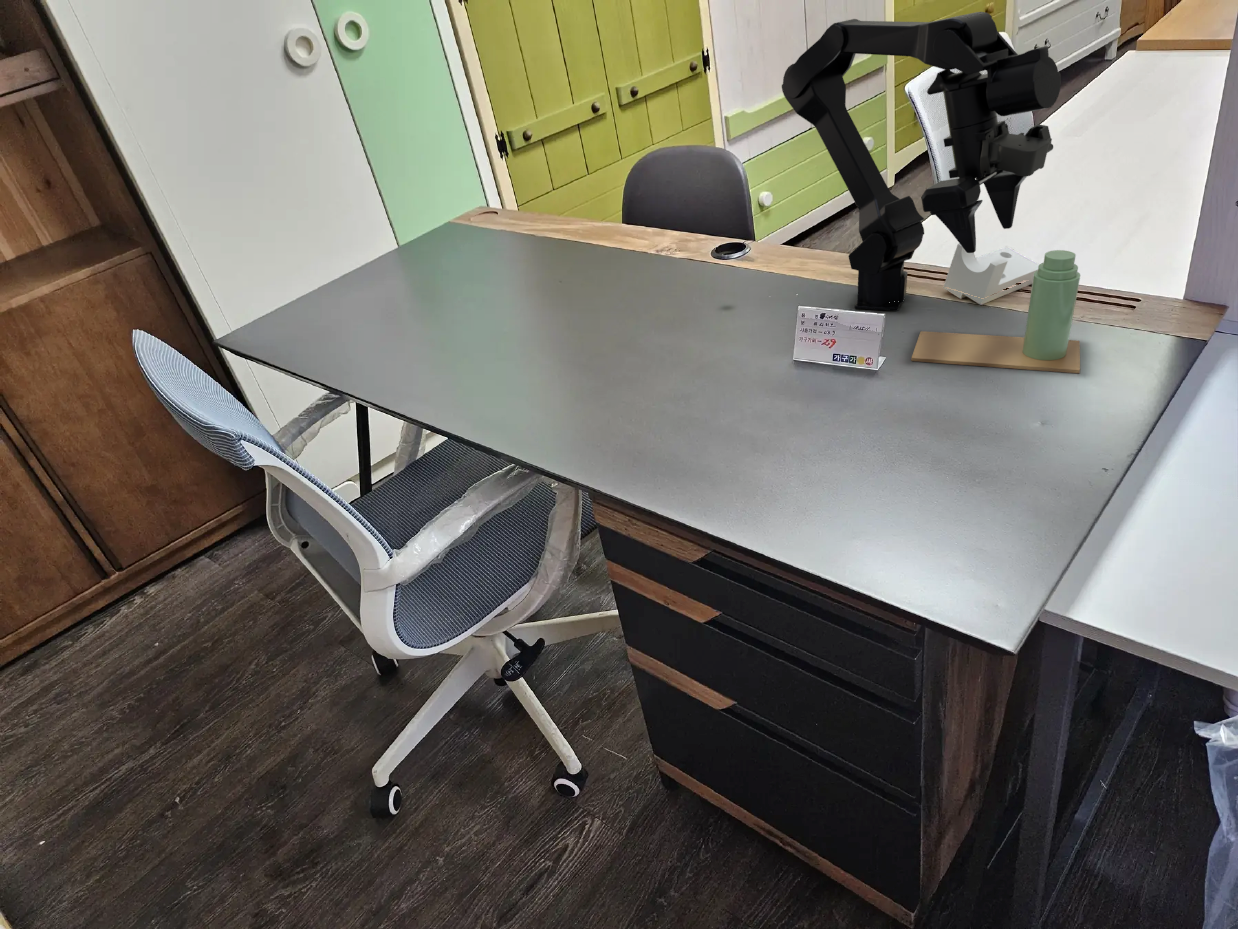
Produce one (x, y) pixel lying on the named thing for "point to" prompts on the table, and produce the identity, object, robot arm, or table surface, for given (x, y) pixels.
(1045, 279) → the bottle
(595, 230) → the table surface
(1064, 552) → the table surface
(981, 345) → the cork pad
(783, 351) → the table surface
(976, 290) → the bracket
